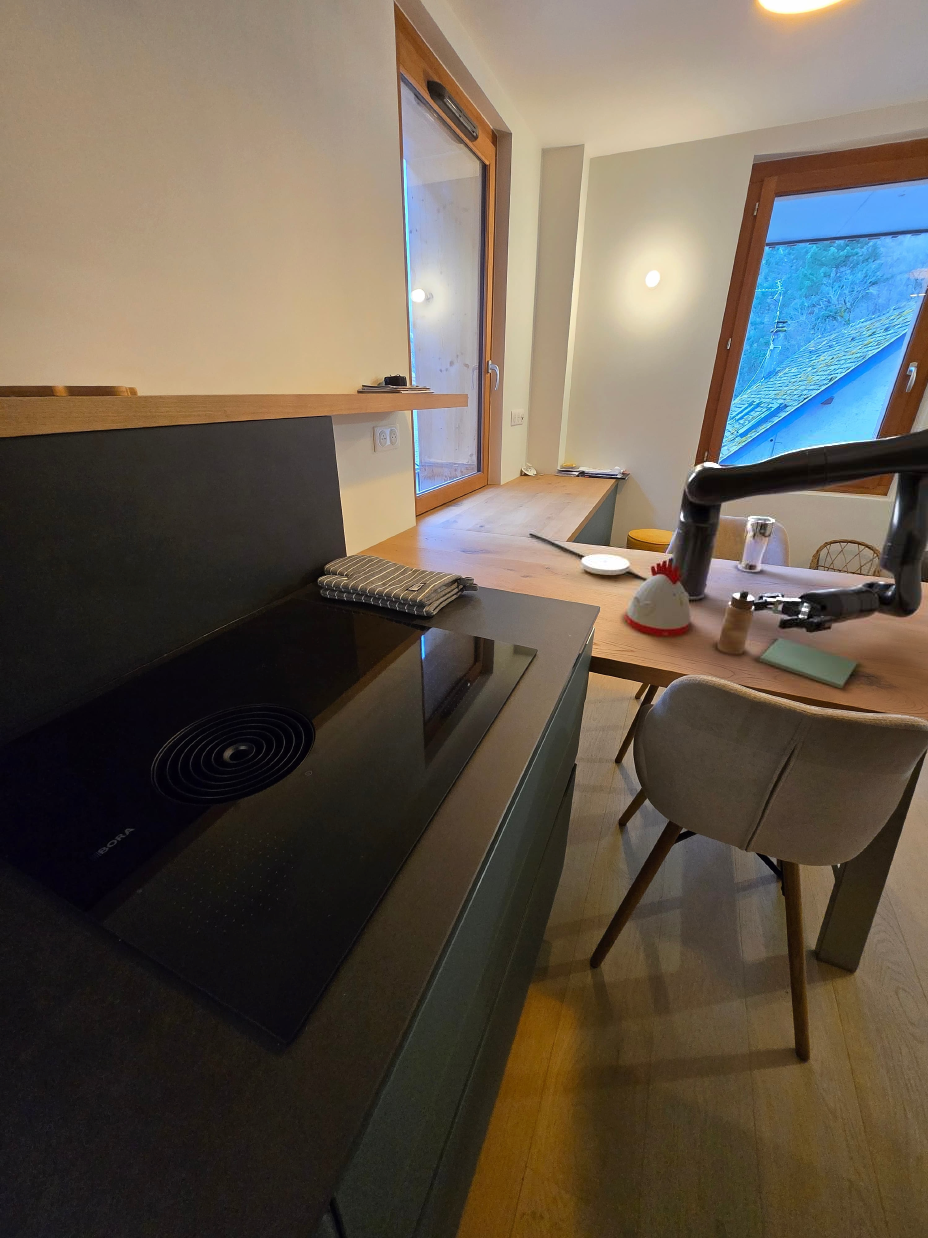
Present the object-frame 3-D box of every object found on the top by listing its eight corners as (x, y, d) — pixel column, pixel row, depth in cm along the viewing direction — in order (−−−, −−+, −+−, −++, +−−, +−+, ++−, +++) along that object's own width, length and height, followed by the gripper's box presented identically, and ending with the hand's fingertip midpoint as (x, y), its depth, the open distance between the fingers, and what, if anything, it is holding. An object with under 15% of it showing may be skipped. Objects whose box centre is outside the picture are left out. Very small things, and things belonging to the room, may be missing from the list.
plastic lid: (579, 561, 155) (579, 553, 154) (624, 562, 153) (625, 555, 152) (582, 577, 142) (583, 568, 141) (632, 579, 141) (633, 570, 140)
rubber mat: (758, 660, 100) (759, 657, 99) (778, 640, 107) (779, 637, 107) (841, 688, 90) (842, 685, 90) (856, 664, 98) (857, 661, 97)
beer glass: (731, 565, 150) (742, 516, 143) (752, 564, 150) (765, 515, 144) (744, 573, 144) (757, 522, 137) (767, 572, 144) (781, 522, 138)
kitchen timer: (658, 640, 108) (669, 576, 101) (613, 616, 119) (621, 557, 112) (701, 627, 113) (715, 565, 107) (655, 605, 124) (665, 548, 118)
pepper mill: (713, 648, 104) (727, 590, 98) (722, 641, 107) (737, 584, 101) (737, 656, 101) (753, 597, 95) (746, 648, 104) (762, 590, 98)
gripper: (805, 578, 110) (743, 586, 107) (865, 604, 98) (797, 613, 94) (795, 609, 114) (735, 617, 110) (852, 637, 101) (786, 647, 98)
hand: (764, 615), depth 102 cm, fingers open, 8 cm apart
